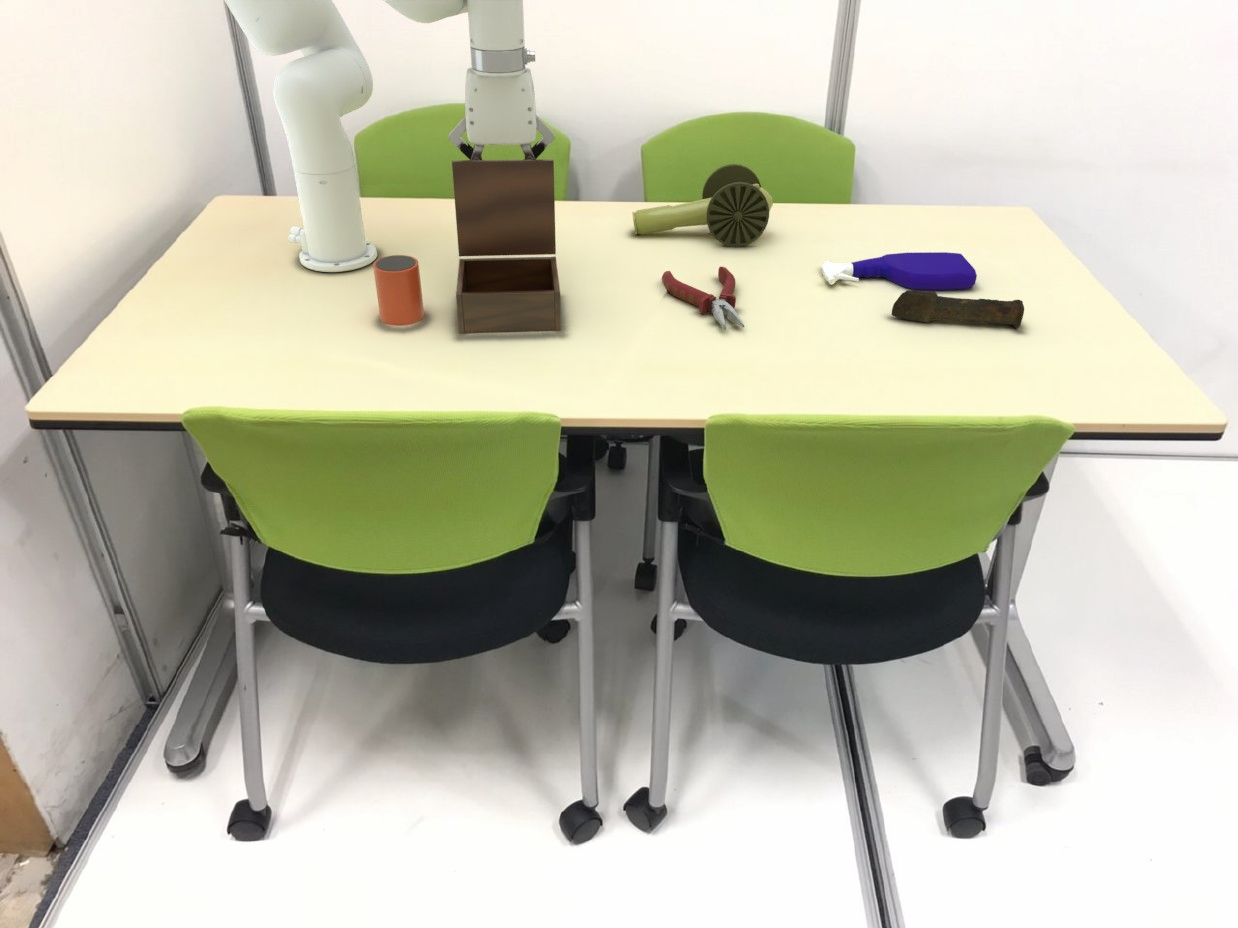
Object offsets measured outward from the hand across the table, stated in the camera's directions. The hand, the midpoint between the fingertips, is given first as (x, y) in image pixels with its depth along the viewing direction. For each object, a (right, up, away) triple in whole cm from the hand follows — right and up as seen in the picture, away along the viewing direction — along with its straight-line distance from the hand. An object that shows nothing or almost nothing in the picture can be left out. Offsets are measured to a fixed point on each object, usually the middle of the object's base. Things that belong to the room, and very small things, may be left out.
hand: (504, 186), depth 140 cm
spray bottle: (+63, -11, +15) cm, 66 cm away
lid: (0, -4, -3) cm, 5 cm away
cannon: (+32, 0, +29) cm, 43 cm away
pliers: (+30, -17, +5) cm, 35 cm away
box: (+1, -20, 0) cm, 20 cm away
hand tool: (+68, -21, +1) cm, 71 cm away
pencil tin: (-15, -21, -2) cm, 25 cm away
